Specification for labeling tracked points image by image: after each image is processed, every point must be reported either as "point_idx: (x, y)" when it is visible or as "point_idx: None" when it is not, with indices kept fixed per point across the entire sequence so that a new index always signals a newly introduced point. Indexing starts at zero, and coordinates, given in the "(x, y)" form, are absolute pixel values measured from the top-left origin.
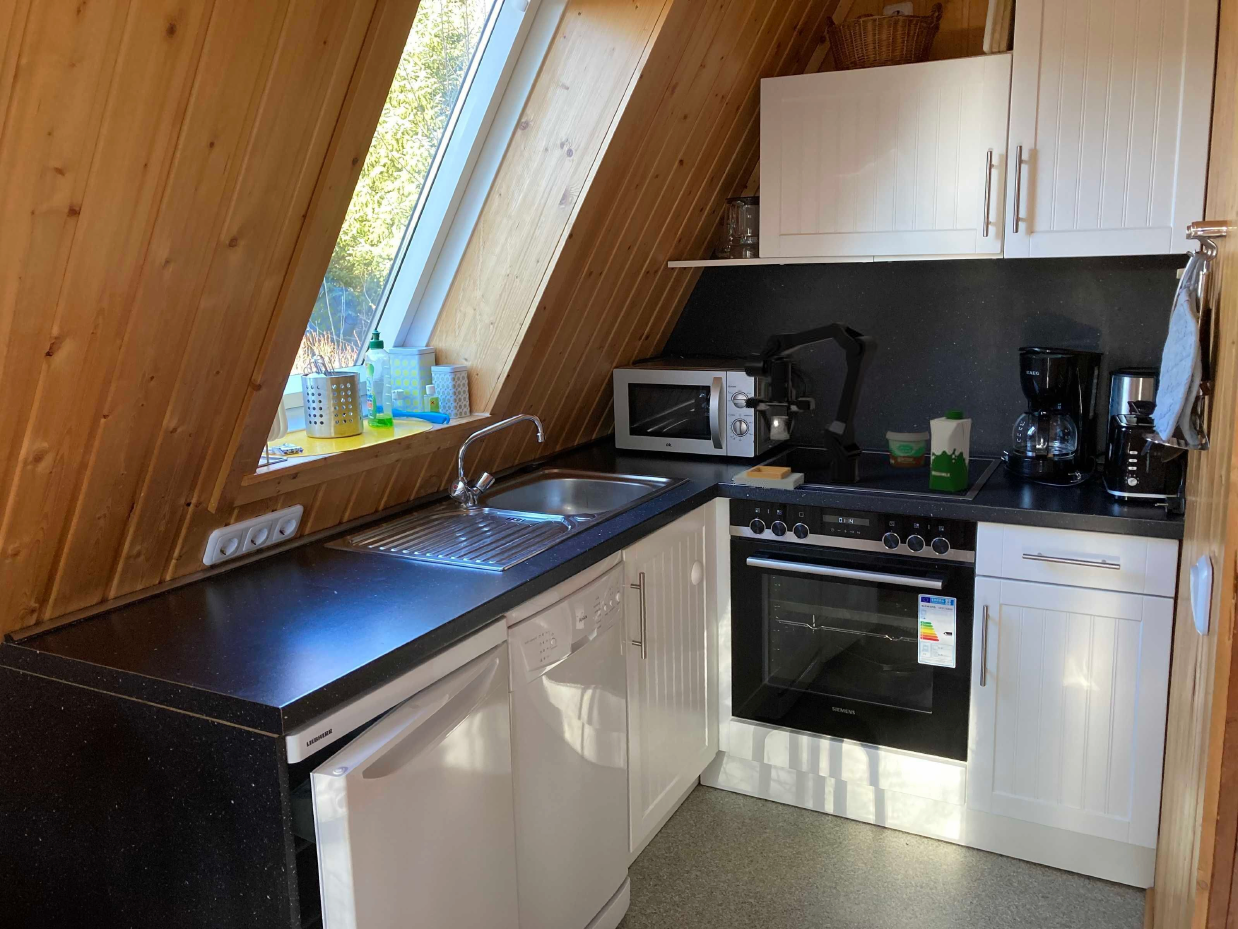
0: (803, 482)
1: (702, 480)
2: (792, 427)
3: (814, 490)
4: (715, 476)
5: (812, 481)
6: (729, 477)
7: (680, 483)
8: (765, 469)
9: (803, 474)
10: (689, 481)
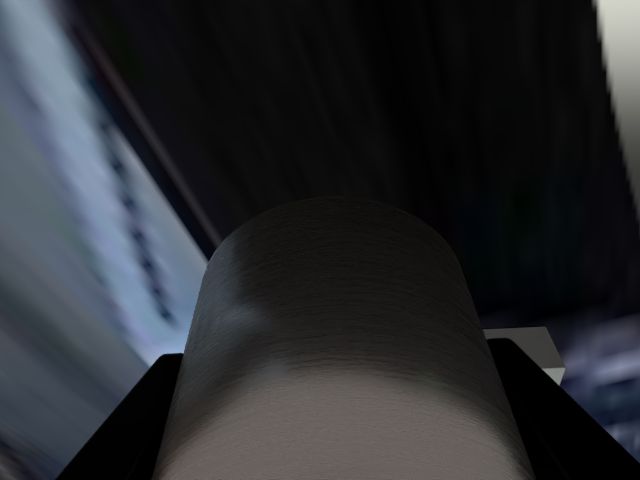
0: (545, 333)
1: (42, 418)
2: (584, 422)
3: (603, 425)
4: (19, 336)
5: (594, 282)
6: (105, 334)
7: (13, 475)
8: None
9: (562, 369)
10: (11, 444)
